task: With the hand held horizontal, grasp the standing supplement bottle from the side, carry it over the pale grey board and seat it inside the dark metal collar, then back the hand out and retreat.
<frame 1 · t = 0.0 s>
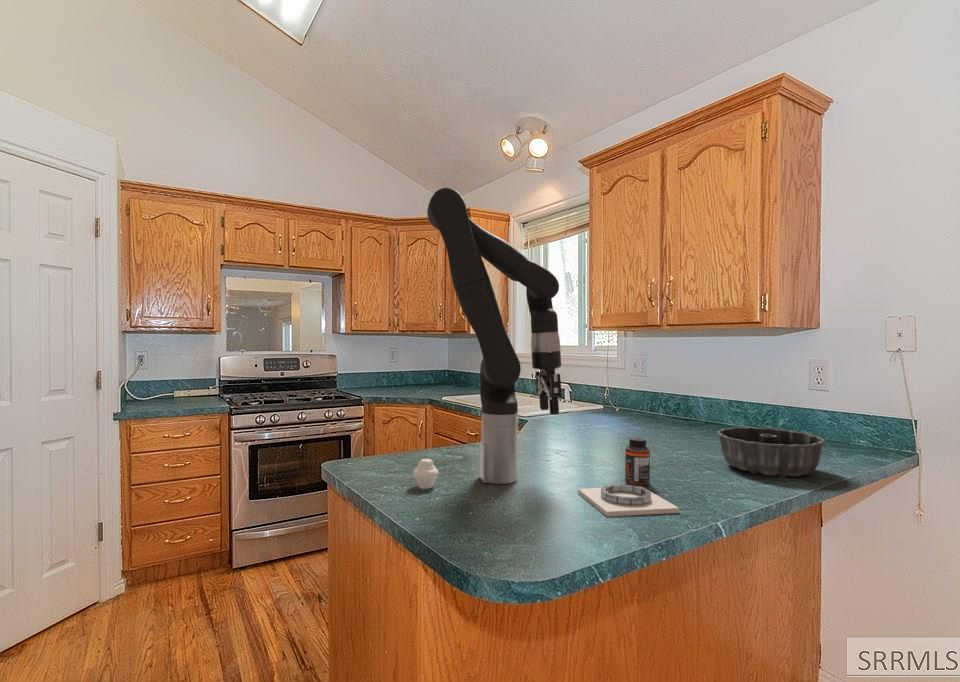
hand: (549, 411, 131), 17 cm above the worktop, tool pointing down, fingers open, 8 cm apart
collar: (625, 494, 111), on the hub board, point 1 cm above the worktop
white lidded jar: (425, 487, 121), on the worktop
bundt pan: (768, 470, 142), on the worktop
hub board: (625, 502, 111), on the worktop
supplement bottle: (637, 484, 127), on the worktop
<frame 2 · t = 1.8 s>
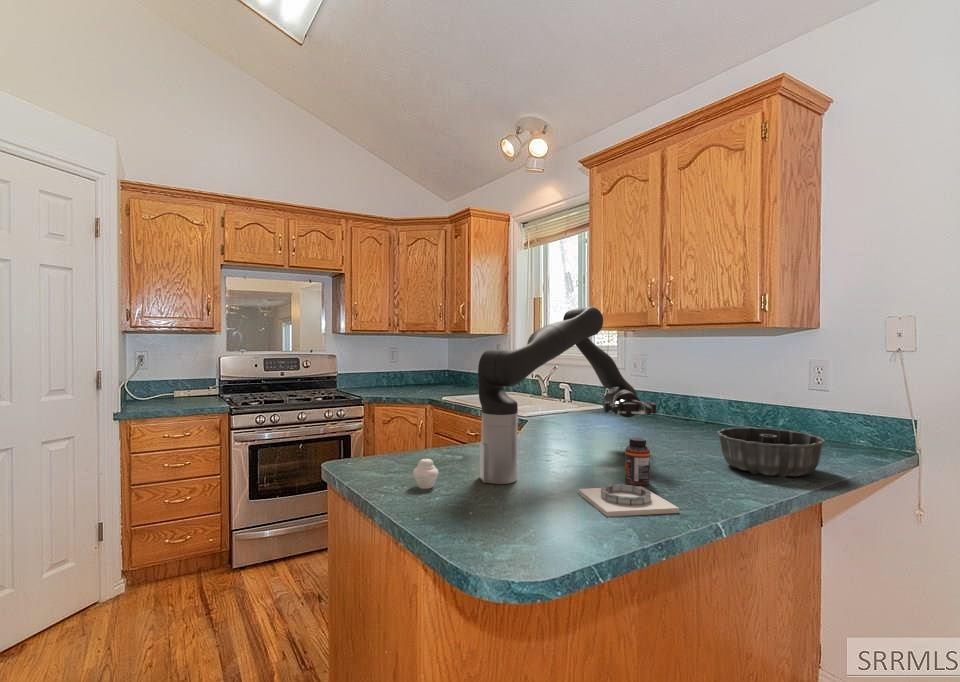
hand: (632, 410, 138), 17 cm above the worktop, tool horizontal, fingers open, 8 cm apart
nothing on the worktop moved.
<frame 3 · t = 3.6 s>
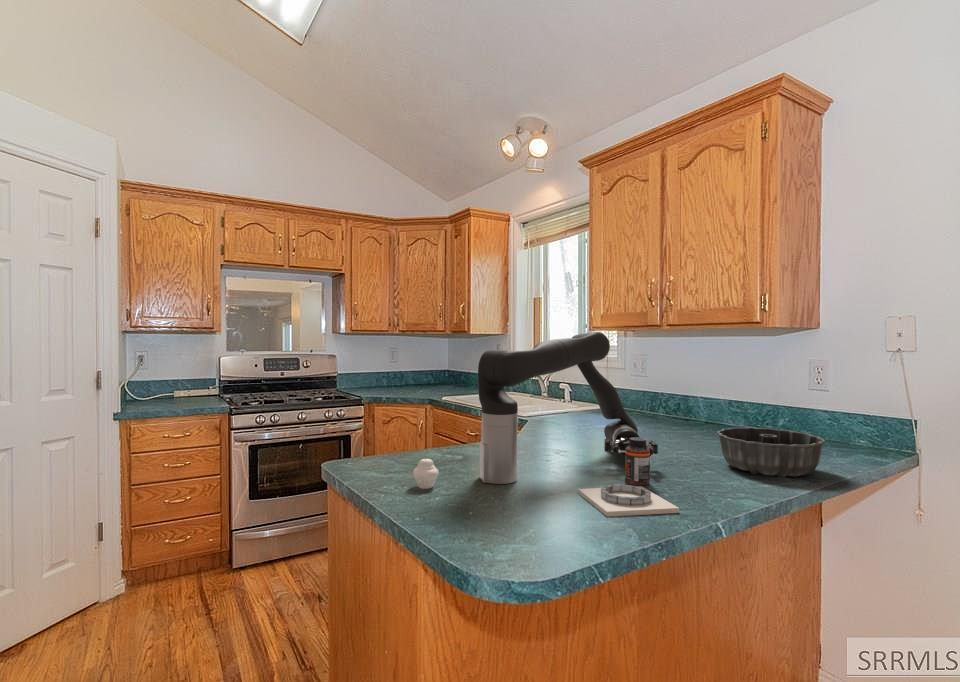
hand: (633, 451, 134), 6 cm above the worktop, tool horizontal, fingers open, 8 cm apart
nothing on the worktop moved.
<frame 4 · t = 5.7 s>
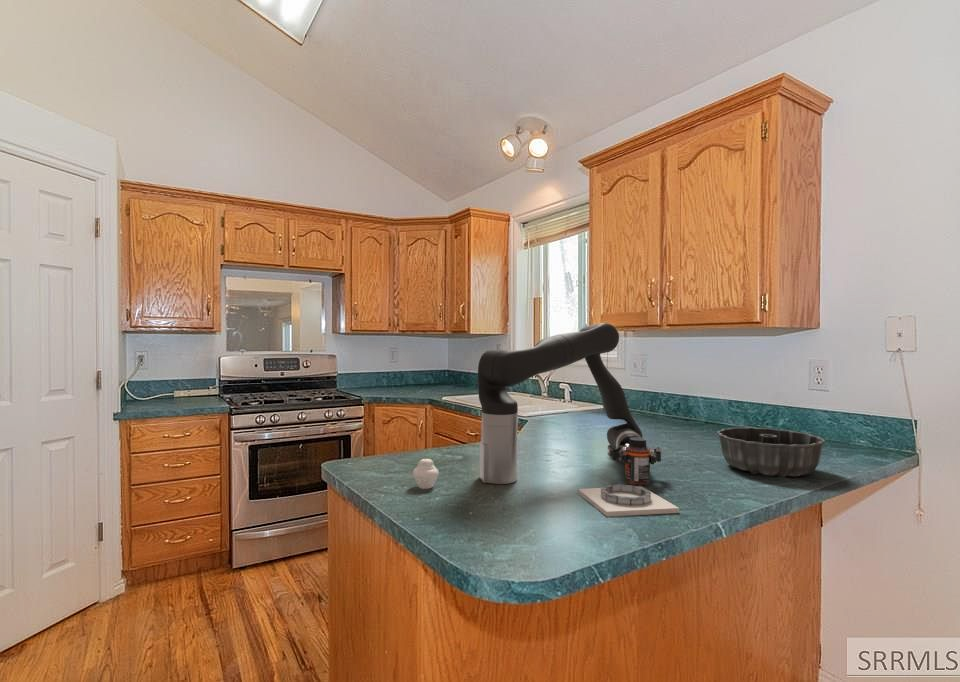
hand: (638, 459, 124), 7 cm above the worktop, tool horizontal, fingers closed on supplement bottle, 6 cm apart
supplement bottle: (637, 484, 127), on the worktop, touching gripper
everything else where it was.
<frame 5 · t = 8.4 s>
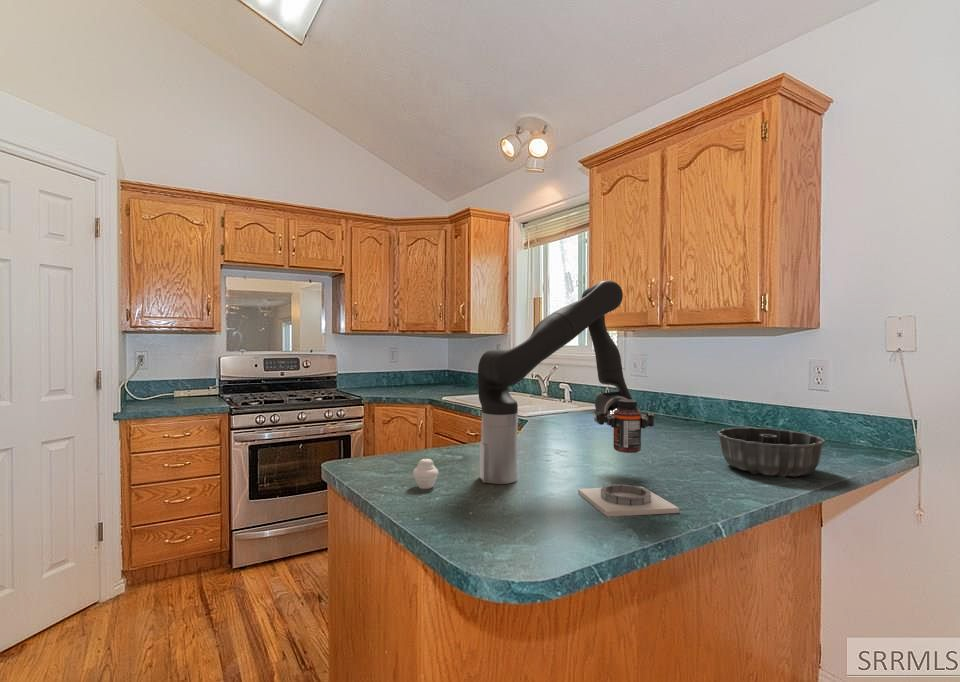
hand: (628, 423, 110), 18 cm above the worktop, tool horizontal, fingers closed on supplement bottle, 6 cm apart
supplement bottle: (627, 451, 112), point 11 cm above the worktop, touching gripper
everything else where it was.
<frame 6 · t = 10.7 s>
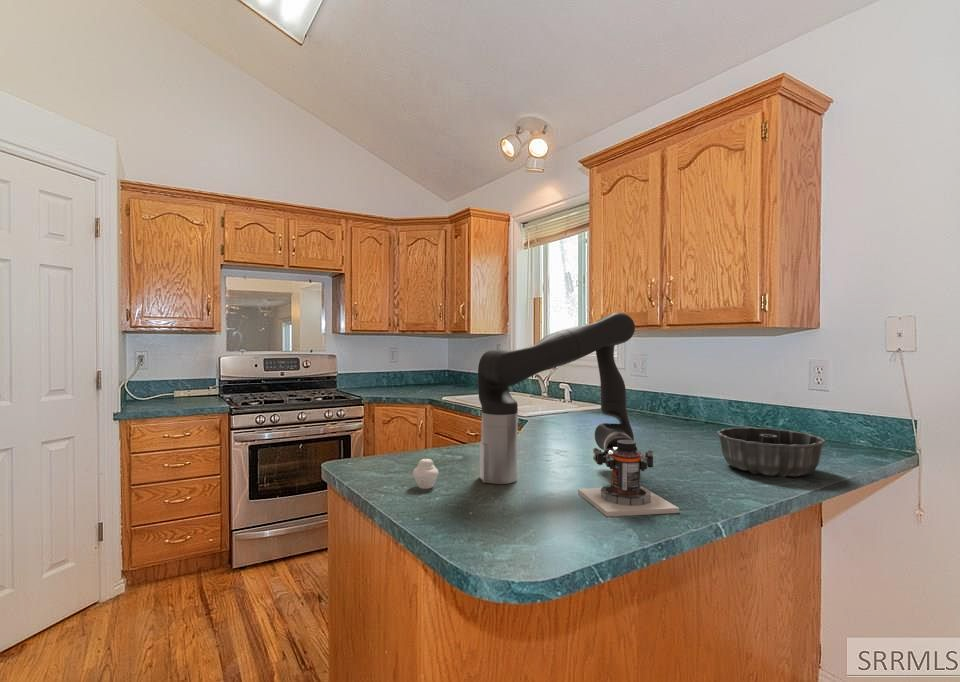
hand: (627, 465, 109), 9 cm above the worktop, tool horizontal, fingers closed on supplement bottle, 6 cm apart
supplement bottle: (625, 493, 111), point 2 cm above the worktop, touching gripper
everything else where it was.
when the fingers open (9 cm above the worktop, at t = 11.2 s): supplement bottle drops 1 cm, resting on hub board.
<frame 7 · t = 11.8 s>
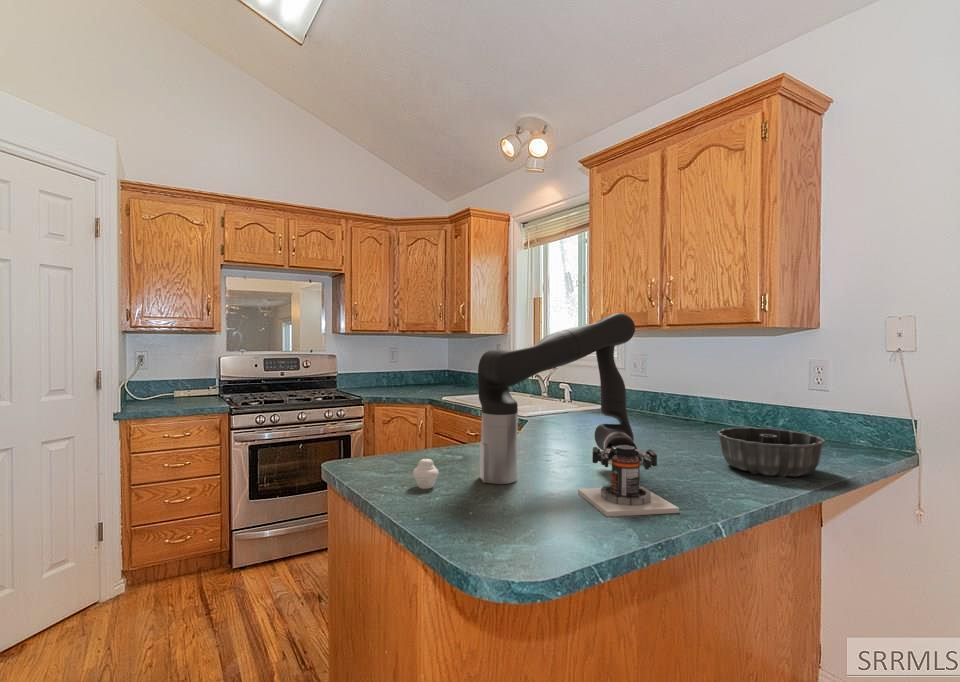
hand: (626, 463, 109), 9 cm above the worktop, tool horizontal, fingers open, 8 cm apart
supplement bottle: (625, 498, 111), point 1 cm above the worktop, touching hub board
everything else where it was.
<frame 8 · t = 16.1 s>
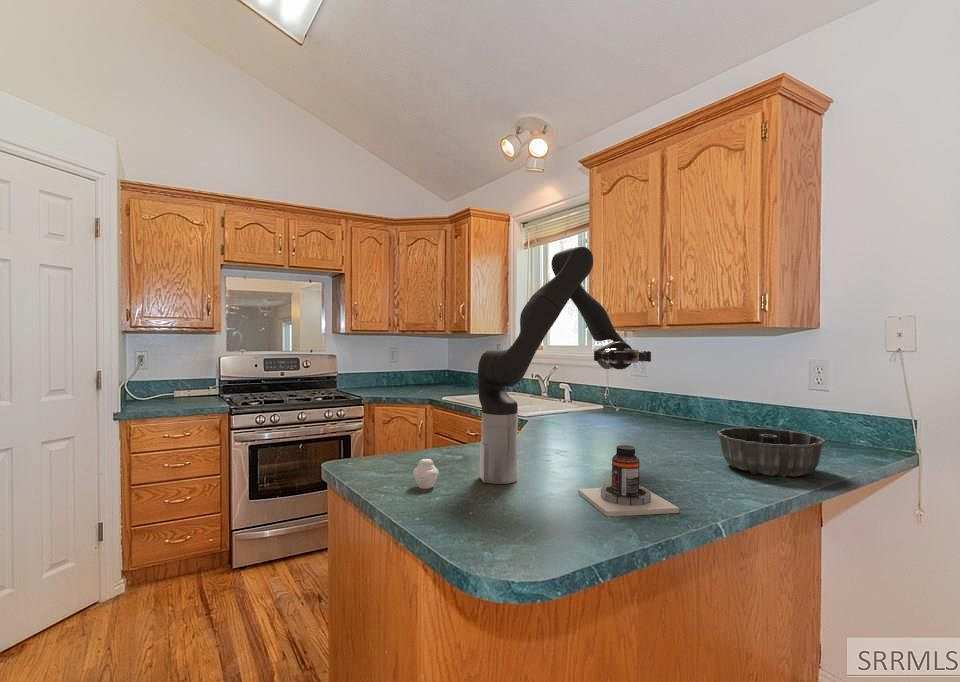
hand: (624, 356, 124), 32 cm above the worktop, tool horizontal, fingers open, 8 cm apart
nothing on the worktop moved.
at the end: supplement bottle 0.1 cm from the collar (horizontally); supplement bottle tilted 0°; the gripper is holding nothing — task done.
